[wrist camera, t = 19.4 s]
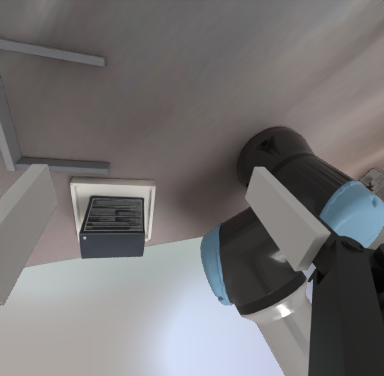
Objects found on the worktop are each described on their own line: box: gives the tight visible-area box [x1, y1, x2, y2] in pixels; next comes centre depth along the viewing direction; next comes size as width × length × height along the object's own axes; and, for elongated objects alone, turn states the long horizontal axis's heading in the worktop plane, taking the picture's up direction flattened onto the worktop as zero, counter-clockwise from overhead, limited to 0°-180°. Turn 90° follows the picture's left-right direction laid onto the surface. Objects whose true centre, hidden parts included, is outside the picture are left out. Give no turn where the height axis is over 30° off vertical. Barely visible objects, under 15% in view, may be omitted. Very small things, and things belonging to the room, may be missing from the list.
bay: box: [0, 38, 110, 174], centre depth 32 cm, size 15×18×3 cm
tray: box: [70, 177, 156, 243], centre depth 45 cm, size 15×15×2 cm
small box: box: [79, 196, 145, 259], centre depth 40 cm, size 11×6×10 cm, turn 79°
